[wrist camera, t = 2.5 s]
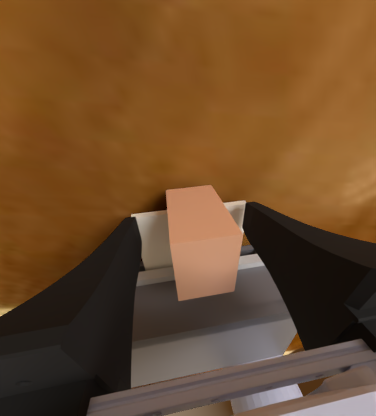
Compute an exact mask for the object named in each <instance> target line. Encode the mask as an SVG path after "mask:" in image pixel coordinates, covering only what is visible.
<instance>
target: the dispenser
mask: <svg viewBox="0 0 376 416" xmlns="http://www.w3.org/2000/svg"><path fill="white" fill-rule="evenodd" d="M296 333H297V330H296V327H295V325H294V323H293V320H292V318H291V316H290V314H289V311H288V309H287V307H286V305H285V303H284V301H283V299H282V296H281V294H280V292H279V290H278V288H277V286H276V284H275V283H274V281H273V279H272V277H271V275H270V273H269V271H268V270H267V268H266V266H265V265H264V263H263V262H262V260H261V259H260V257H259V256H258V254H257V253H256V251H255V250H254V248H253V247H252V245H248V246H241V251H240V258H239V264H238V271H237V277H236V284H235V290H234V292H228V293H222V294H217V295H211V296H205V297H199V298H194V299H188V300H182V301H178V295H177V288H176V281H175V275H174V268H173V267H168V268H162V269H156V270H149V271H146V270H145V267H144V263H143V261H141V262H140V267H139V273H138V279H137V284H136V291H135V300H134V314H133V332H132V359H131V388H133V387H137V386H142V385H147V384H151V383H156V382H160V381H165V380H170V379H174V378H179V377H183V376H188V375H192V374H197V373H202V372H206V371H211V370H215V369H220V368H225V367H229V366H234V365H238V364H243V363H247V362H252V361H257V360H261V359H266V358H270V357H275V356H279V355H283V354H284V352H285V351H286V349H287V347H288V346H289V344H290V343H291V341H292V339H293V338H294V336H295V335H296Z"/></svg>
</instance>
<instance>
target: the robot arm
mask: <svg viewBox="0 0 376 416" xmlns="http://www.w3.org/2000/svg"><path fill="white" fill-rule="evenodd" d="M242 228H243V230H244V233H245V235H246V237H247V239H248V241H249V242H250V244H251V245H252V247H253V248H254V250H255V251H256V253H257V254H258V256H259V257H260V259H261V260H262V262H263V263H264V265H265V266H266V268H267V270H268V271H269V273H270V275H271V277H272V279H273V281H274V283H275V284H276V286H277V288H278V290H279V292H280V294H281V296H282V299H283V301H284V303H285V305H286V307H287V309H288V311H289V314H290V316H291V318H292V320H293V323H294V325H295V327H296V330H297V332H298V335H299V337H300V339H301V342H302V344H303V347H304V349H305V351H303V352H298V353H294V354H289V355H284V356H283V355H279V356H275V357H270V358H266V359H261V360H257V361H252V362H247V363H243V364H238V365H234V366H229V367H225V368H223V369H220V370H216V371H211V372H207V373H202V374H198V375H193V376H188V377H184V378H179V379H175V380H170V381H166V382H161V383H156V384H152V385H147V386H143V387H138V388H134V389H131V359H132V332H133V314H134V300H135V291H136V284H137V279H138V273H139V267H140V261H141V255H142V239H141V235H140V232H139V228H138V224H137V220H136V217H128V218H125V219H124V220H123V221H122V222H121V223H120V225H119V226H118V227H117V228H116V229H115V230H114V231H113V233H112V234H111V235H110V236H109V237H108V238H107V239H106V240H105V241H104V242H103V243H102V244H101V245H100V246H99V247H98V248H97V249H96V250H95V251H94V252H93V253H92V254H91V255H90V256H89V257H87V258H86V259H85V260H84V261H83V262H82V263H80V264H79V265H78V266H77V267H75V268H74V269H73V270H71V271H70V272H69V273H67V274H66V275H65V276H63V277H62V278H61V279H59V280H58V281H57V282H55V283H54V284H52V285H51V286H49V287H48V288H46V289H45V290H43V291H42V292H40V293H39V294H37V295H36V296H34V297H33V298H31V299H29V300H28V301H26V302H24V303H23V304H21V305H19V306H18V307H16V308H14V309H13V310H11V311H9V312H7V313H6V314H4V315H2V316H1V317H0V416H164V415H168V414H172V413H176V412H180V411H184V410H189V409H193V408H197V407H202V406H205V405H210V404H214V403H218V402H222V401H226V400H231V404H232V408H233V412H234V415H231V416H376V243H371V242H366V241H362V240H357V239H353V238H349V237H346V236H342V235H338V234H335V233H331V232H328V231H325V230H322V229H319V228H316V227H313V226H310V225H307V224H304V223H302V222H300V221H297V220H295V219H292V218H290V217H288V216H285V215H283V214H281V213H279V212H277V211H274V210H272V209H270V208H268V207H266V206H264V205H262V204H259V203H257V202H248V203H246V204H245V211H244V218H243V224H242ZM336 374H338V375H336ZM332 375H335V376H333V377H330V378H327V379H325V380H324V382H323V384H322V385H321V386H320V387H319V388H317V389H316V390H314V391H313V392H311V393H309V394H308V395H307V396H304V397H303V395H302V393H301V391H300V389H299V387H298V385H297V384H298V383H302V382H307V381H311V380H315V379H319V378H324V377H328V376H332Z"/></svg>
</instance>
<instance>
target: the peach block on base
mask: <svg viewBox="0 0 376 416" xmlns="http://www.w3.org/2000/svg"><path fill="white" fill-rule="evenodd" d="M166 200H167V210H163V211H154V212H146V213H138V214H132V215H131V217H136V220H137V224H138V228H139V232H140V235H141V239H142V255H141V257H142V260H143V263H144V267H145V270H146V271H149V270H156V269H162V268H168V267H173V268H174V275H175V281H176V288H177V295H178V301H182V300H188V299H194V298H199V297H205V296H211V295H217V294H222V293H228V292H234V290H235V284H236V277H237V271H238V264H239V258H240V251H241V245H242V239H243V231H244V230H243V228H242V224H243V218H244V211H245V204H246V203H247V202H246V201H245V200H244V201H236V202H228V203H223V202H222V201H221V199H220V198H219V196H218V195H217V193H216V192H215V190H214V188H213V187H212V185H207V186H198V187H189V188H180V189H171V190H166Z"/></svg>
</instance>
